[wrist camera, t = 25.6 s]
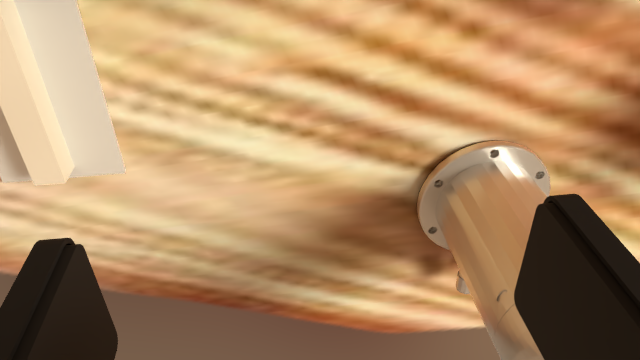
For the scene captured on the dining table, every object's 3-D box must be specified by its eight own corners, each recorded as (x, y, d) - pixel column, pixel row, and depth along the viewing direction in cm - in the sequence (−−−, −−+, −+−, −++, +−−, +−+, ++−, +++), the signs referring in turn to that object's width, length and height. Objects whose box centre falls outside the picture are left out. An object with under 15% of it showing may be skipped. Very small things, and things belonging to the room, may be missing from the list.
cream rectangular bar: (84, 166, 43) (69, 194, 39) (34, 170, 42) (16, 198, 39) (-16, -118, 31) (-48, -112, 28) (-85, -115, 31) (-126, -108, 28)
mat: (126, 170, 44) (125, 173, 43) (5, 180, 43) (3, 182, 43) (49, -93, 32) (47, -92, 32) (-117, -86, 32) (-121, -85, 31)
